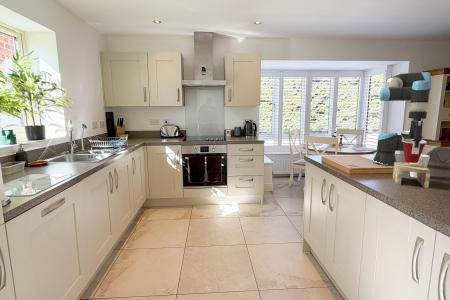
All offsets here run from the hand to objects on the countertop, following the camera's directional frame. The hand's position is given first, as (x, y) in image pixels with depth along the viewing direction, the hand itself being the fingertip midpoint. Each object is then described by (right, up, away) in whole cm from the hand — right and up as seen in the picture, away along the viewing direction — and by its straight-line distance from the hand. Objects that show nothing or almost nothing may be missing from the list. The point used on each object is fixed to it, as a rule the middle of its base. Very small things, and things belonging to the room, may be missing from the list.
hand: (412, 152), depth 133 cm
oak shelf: (0, -16, +2) cm, 16 cm away
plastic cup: (0, -5, +1) cm, 6 cm away
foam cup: (+13, -15, +14) cm, 25 cm away
